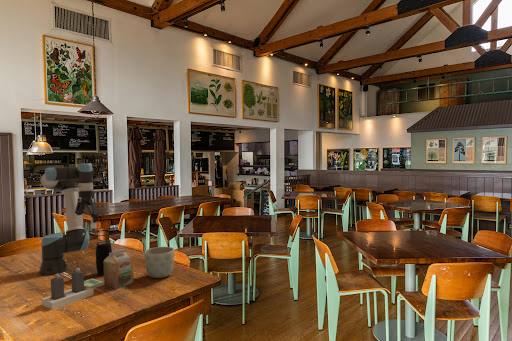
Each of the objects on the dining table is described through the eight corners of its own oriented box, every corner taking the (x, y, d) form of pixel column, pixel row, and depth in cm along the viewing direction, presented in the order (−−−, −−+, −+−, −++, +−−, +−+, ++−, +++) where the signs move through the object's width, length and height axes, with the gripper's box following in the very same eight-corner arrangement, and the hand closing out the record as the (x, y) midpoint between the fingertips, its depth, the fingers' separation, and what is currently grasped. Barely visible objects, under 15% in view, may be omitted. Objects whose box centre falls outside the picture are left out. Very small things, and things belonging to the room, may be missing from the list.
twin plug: (51, 303, 165) (50, 274, 164) (60, 301, 168) (59, 272, 168) (55, 305, 162) (54, 276, 162) (64, 302, 166) (63, 273, 165)
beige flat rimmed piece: (41, 305, 164) (41, 297, 164) (82, 292, 180) (82, 283, 180) (52, 310, 158) (52, 301, 158) (93, 295, 175) (93, 287, 175)
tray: (73, 288, 186) (73, 284, 186) (92, 281, 196) (92, 278, 195) (84, 292, 180) (84, 288, 180) (103, 285, 189) (103, 281, 189)
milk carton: (116, 290, 182) (115, 254, 182) (104, 286, 188) (103, 252, 187) (133, 283, 191) (132, 249, 191) (121, 280, 197) (119, 247, 196)
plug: (72, 296, 173) (71, 269, 173) (80, 294, 176) (79, 266, 176) (76, 298, 171) (75, 270, 170) (84, 295, 174) (83, 268, 174)
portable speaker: (110, 276, 205) (109, 243, 204) (93, 277, 204) (92, 244, 203) (115, 271, 213) (113, 240, 212) (99, 272, 212) (98, 240, 212)
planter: (180, 273, 207) (180, 248, 207) (161, 282, 192) (161, 255, 192) (158, 270, 215) (157, 245, 214) (138, 278, 199) (137, 252, 199)
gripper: (67, 190, 200) (68, 226, 201) (92, 191, 187) (93, 230, 187) (80, 189, 207) (81, 224, 207) (104, 190, 193) (106, 228, 194)
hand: (87, 227), depth 197 cm, fingers open, 13 cm apart
